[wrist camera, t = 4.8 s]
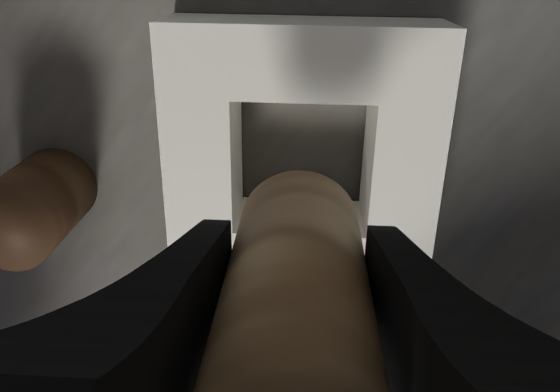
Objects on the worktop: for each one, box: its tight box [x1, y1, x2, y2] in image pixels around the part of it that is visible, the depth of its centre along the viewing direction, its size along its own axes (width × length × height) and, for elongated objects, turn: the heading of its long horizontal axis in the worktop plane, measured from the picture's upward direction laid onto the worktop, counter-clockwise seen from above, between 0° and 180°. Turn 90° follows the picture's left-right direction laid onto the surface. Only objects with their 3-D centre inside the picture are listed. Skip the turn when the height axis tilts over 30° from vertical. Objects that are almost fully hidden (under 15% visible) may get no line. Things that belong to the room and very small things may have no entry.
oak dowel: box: [193, 170, 390, 392], centre depth 10 cm, size 3×3×7 cm
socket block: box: [149, 13, 467, 259], centre depth 18 cm, size 9×9×3 cm
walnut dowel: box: [0, 148, 97, 271], centre depth 19 cm, size 3×3×4 cm
